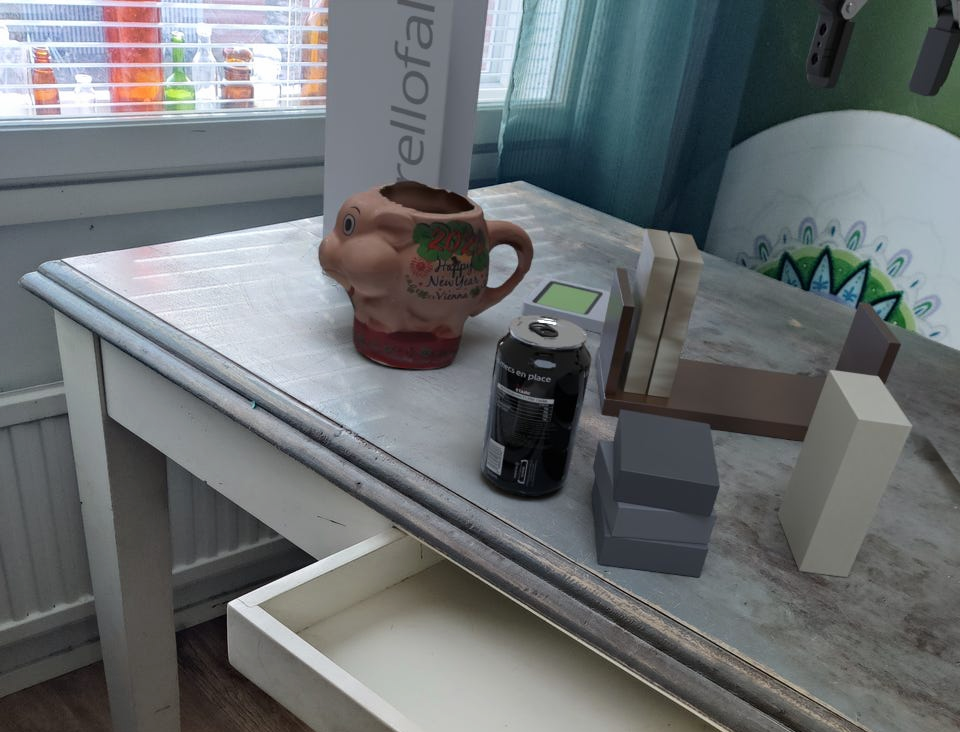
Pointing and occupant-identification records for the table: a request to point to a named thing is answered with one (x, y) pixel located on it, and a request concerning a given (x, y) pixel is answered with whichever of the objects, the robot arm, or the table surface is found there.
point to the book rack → (702, 385)
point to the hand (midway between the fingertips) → (872, 90)
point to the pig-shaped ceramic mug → (417, 269)
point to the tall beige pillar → (842, 472)
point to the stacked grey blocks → (655, 494)
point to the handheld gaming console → (569, 303)
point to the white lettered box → (400, 95)
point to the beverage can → (535, 404)
